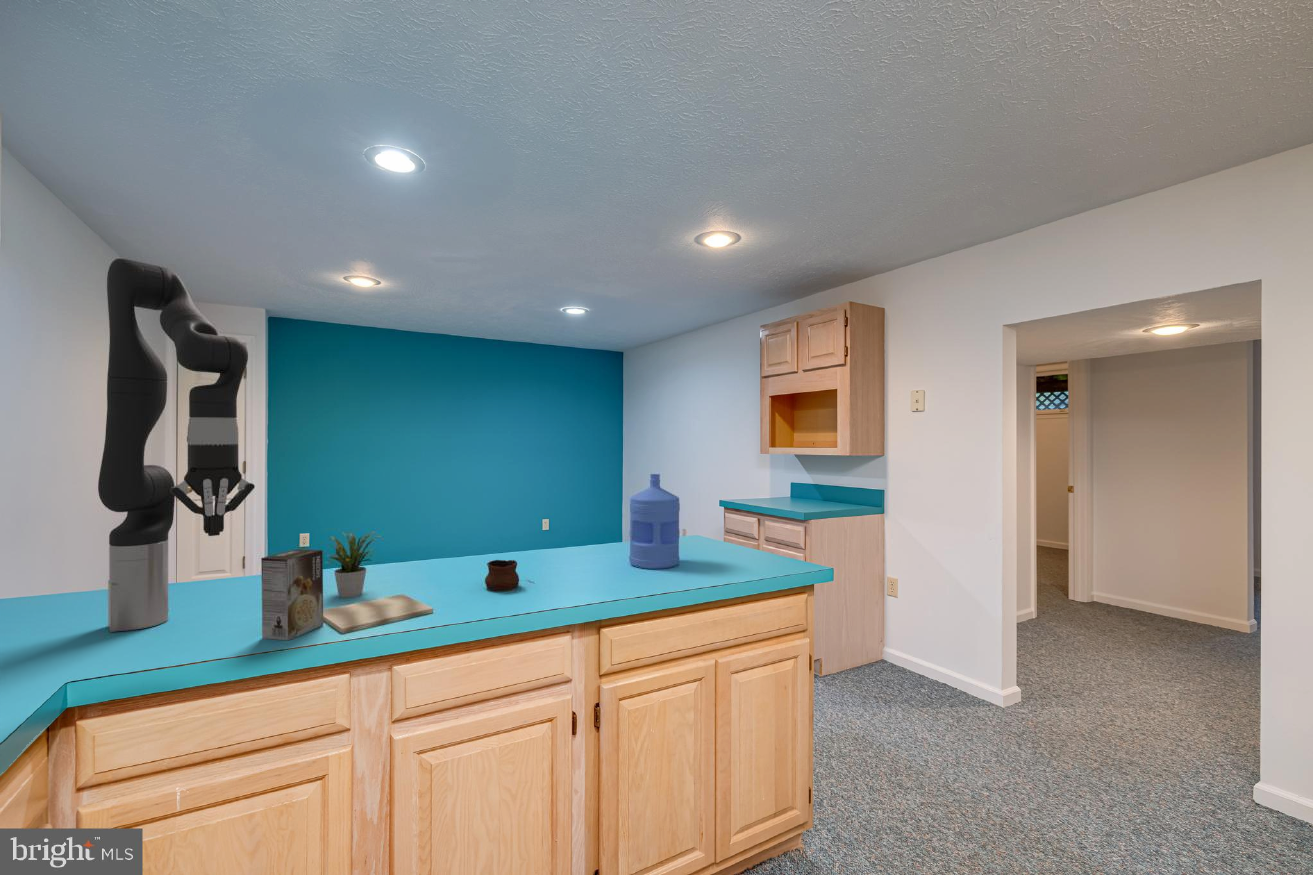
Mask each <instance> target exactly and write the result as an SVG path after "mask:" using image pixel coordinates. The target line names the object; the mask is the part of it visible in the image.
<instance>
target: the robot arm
mask: <svg viewBox="0 0 1313 875" xmlns="http://www.w3.org/2000/svg"><path fill="white" fill-rule="evenodd" d="M106 276H107V277H106V293H107V296H106V298H107V310H108V326H109V327H108V328H109V344H108V345H109V346H108V347H109V348H108V365H107V366H108V367H107V376H106V377H107V378H106V379H107V380H106V420H105V422H106V423H105V435H104V445H103V446H104V447H103V452H102V457H101V458H102V459H101V463H100V464H101V465H100V470H99V476H98V484H97V485H98V486H97V491H98V496H99V499H100V502H101V503H102V504H103V506H104V507H105V508H106V509H108V510H109V511H112V512H115V513H127V514H126V517H125V519H124V520H123V521H122V522H121V523H120V524H118V526H116V527H115V528H113V529H112V530H111V531H110V533H109V537H108V540H109V542H108V546H109V547H108V551H109V553H108V555H109V558H108V560H109V561H108V566H109V567H108V571H109V573H108V575H109V576H108V578H109V579H108V581H107V593H108V594H107V601H108V602H107V603H108V604H107V608H108V609H107V616H108V618H107V620H108V621H107V623H108V624H107V625H108V628H109V629H108V630H109V633H114V632H124V631H135V630H140V629H146V628H152V627H154V626H157V625H161V624H163V623H166V622H167V621H168V620H169V533H170V530H171V528H172V526H173V525H174V524H173V523H174V518H175V517H174V515H175V514H174V513H175V498H176V499H177V500H178V501H180V503H182V504H183V505H184V506H185V507H186V508H187V509H189V511H191V512H192V513H193V514H197V515H201V516H202V517H203V518H202V519H203V529H202V530H203V532H204V534H207V535H208V537H214V536H215V537H218V536H220V534H221V533H223V532H224V528H225V515H226V514H227V513H228V512H232V511H233V512H234V511H235V510H236V509H238V507H239V506H240V505H241V504H242V503H243V502H244V501H245V499H246V498H247V497H248V496H249V495H250V494H251V493H252V491H253V490H254V489H255V484H254V483H251V482H248V481H247V480H246V479H243V476H242V473H241V472H240V469H239V459H240V458H239V427H238V426H239V425H238V419H237V418H238V414H237V413H238V412H237V411H238V409H237V407H238V406H237V405H238V404H237V403H238V402H237V398H238V392H239V389H240V386H241V382H242V379H243V376H244V373H245V370H246V368H247V364H248V361H249V352H248V348H247V347H246V345H245V343H244V342H243V341H242V340H241V339H239V338H237V337H233V336H225V335H224V336H223V335H219V333H218V331H217V329H216V328H215V326H214V325H213V324H212V323H211V321H209V320H208V319H207V318H206V316H204V315H203V314H202V312H200V311H199V310H198V308H197V307H196V305H195V303H194V301H193V299H192V296H190V293H189V291H188V290H187V287H186V286H185V284H184V282H183V281H182V279H181V277H180V276H179V275H178V274H177V273H176V272H175V271H174V270H171V269H169V268H167V267H163V266H159V265H155V264H150V263H145V262H141V261H137V260H133V259H127V258H116V259H114V260H112V262H111V263H110V265H109V267H108V271H107V275H106ZM135 308H139V309H141V308H142V309H146V310H152V311H161V312H160V315H159V324H160V326H161V328H162V330H163V331H164V333H165V334H166V335H167V337H169V339H170V340H171V341H172V342H173V343H174V344H173V345H174V346H175V355H176V360H177V362H178V365H180V366H182V367H183V368H184V369H185V370H188V371H192V372H199V373H211V374H219V376H218V378H217V380H216V382H214V383H211V384H202V385H197V386H193V387H192V388H190V390H189V394H188V402H189V403H188V409H189V410H188V417H189V419H188V426H187V436H186V442H187V471H186V473H185V475H184V478H183V481H182V482H180V483H178V484H177V485H175V482H174V477H173V476H172V474H171V473H170V471H169V470H167V469H166V468H165V467H162V466H160V465H155V464H147V465H146V464H145V452H146V451H145V449H146V444H147V440H148V438H149V436H150V434H151V432H152V430H153V429H154V428H155V426H156V424H158V421H159V419H160V417H161V416H162V414H163V412H164V410H165V408H166V405H167V399H168V398H167V395H168V374H167V369H166V368H165V365H164V364H163V363H162V361H161V360H160V358H159V357H158V355H157V354H156V353H155V350H153V349H152V347H151V346H150V344H149V343H148V341H147V340H146V339H145V338H144V335H143V334H142V332H141V330H140V327H139V325H138V321H137V317H136V311H135ZM237 485H238V486H237ZM188 487H189V488H190V489H191V490H192V491H193V492H194V493H195V495H197V496H199V497H200V501H201V506H199V505H197V503H196V502H195V501H193V500H192V499H191V497H189V496H188V494H189V489H188ZM235 487H237V491H238V492H236V494H235V495H234V496H233V497H231V499H230V500H229V501H228V502H227V497H228V495H229V494H231V493H232V491H233V490H234V489H235ZM213 498H214V499H213Z"/></svg>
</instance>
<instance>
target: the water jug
mask: <svg viewBox="0 0 1313 875" xmlns="http://www.w3.org/2000/svg"><path fill="white" fill-rule="evenodd" d="M649 476H650V479H649V484H650V485H649V487H648V488H646V489H644V490H642V491H640V492H638V493H636V494H634V495H632V496H631V497H630V500H629V511H630V512H629V513H630V515H629V517H630V518H629V556H628V558H629V563H630V565H632V566H633V567H635V568H640V569H647V570H663V569H670V568H674V567H676V566H678V565H679V563H680V534H681V532H680V531H681V530H680V510H681V506H680V498H679V496H677V495H675V494H673V493H672V492H670V491H668V490H666V489H664V488H662V487H661V480H660V478H661V474H660V473H650V474H649Z"/></svg>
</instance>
